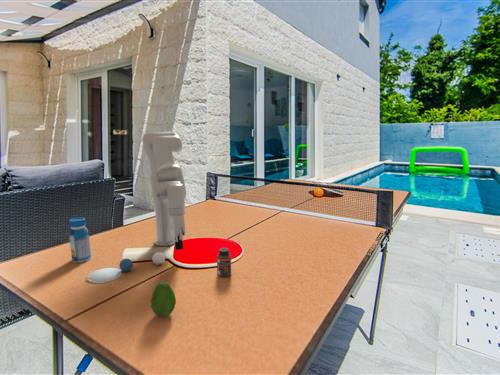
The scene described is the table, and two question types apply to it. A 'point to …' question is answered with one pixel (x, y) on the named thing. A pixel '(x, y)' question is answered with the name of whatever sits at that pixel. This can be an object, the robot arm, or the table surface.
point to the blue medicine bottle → (79, 240)
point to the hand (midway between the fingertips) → (179, 249)
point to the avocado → (163, 300)
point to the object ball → (126, 265)
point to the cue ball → (158, 258)
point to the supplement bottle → (224, 263)
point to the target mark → (104, 275)
